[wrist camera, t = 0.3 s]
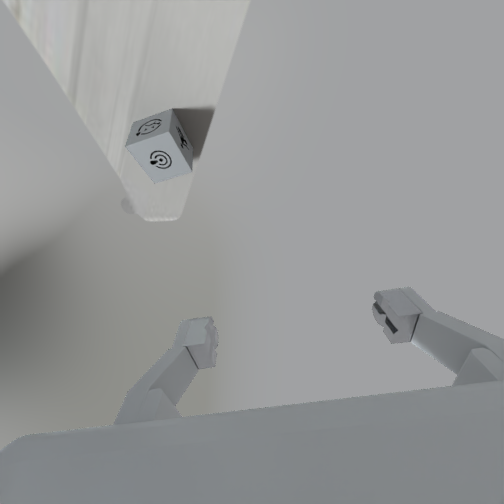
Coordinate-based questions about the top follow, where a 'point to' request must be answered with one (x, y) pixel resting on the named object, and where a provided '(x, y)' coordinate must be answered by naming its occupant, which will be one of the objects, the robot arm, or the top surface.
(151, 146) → the icon cube
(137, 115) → the top surface
